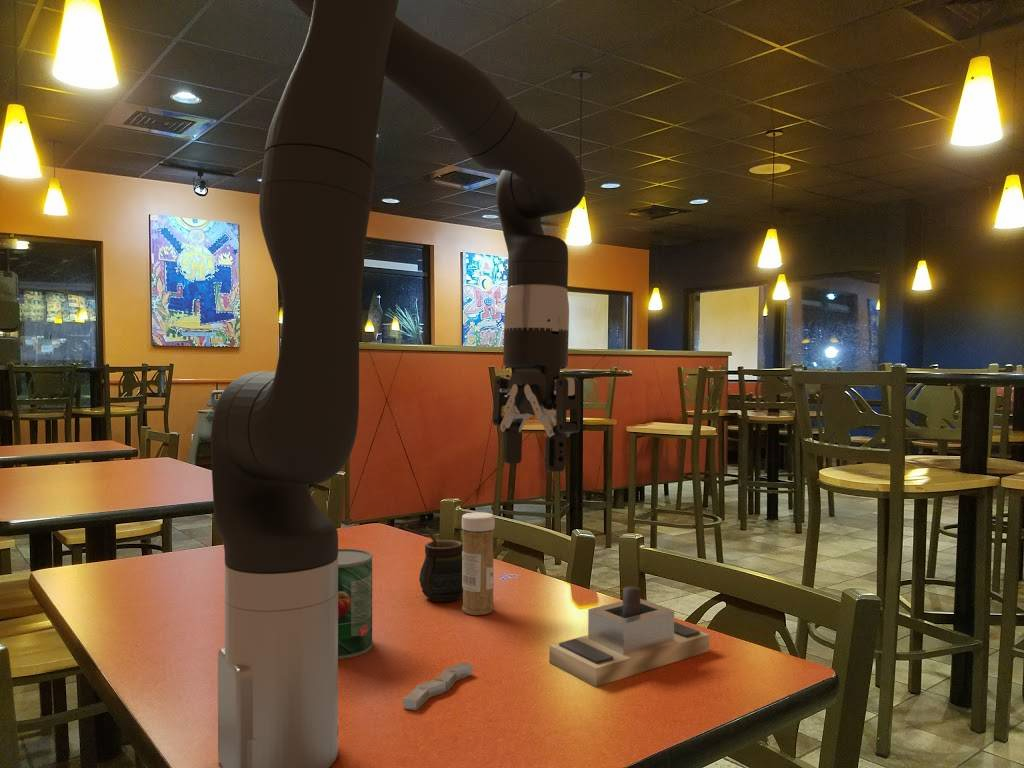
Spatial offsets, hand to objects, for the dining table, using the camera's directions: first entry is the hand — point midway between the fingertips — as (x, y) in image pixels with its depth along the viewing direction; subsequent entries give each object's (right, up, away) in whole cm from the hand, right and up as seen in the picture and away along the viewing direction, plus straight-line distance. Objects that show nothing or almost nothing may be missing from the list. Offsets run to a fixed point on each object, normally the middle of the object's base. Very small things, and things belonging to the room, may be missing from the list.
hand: (532, 467), depth 87 cm
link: (+12, -20, +1) cm, 23 cm away
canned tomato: (-23, -22, +3) cm, 32 cm away
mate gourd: (-13, -22, +23) cm, 34 cm away
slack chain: (-10, -22, -8) cm, 26 cm away
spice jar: (-7, -22, +17) cm, 29 cm away
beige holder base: (+12, -22, +1) cm, 25 cm away
